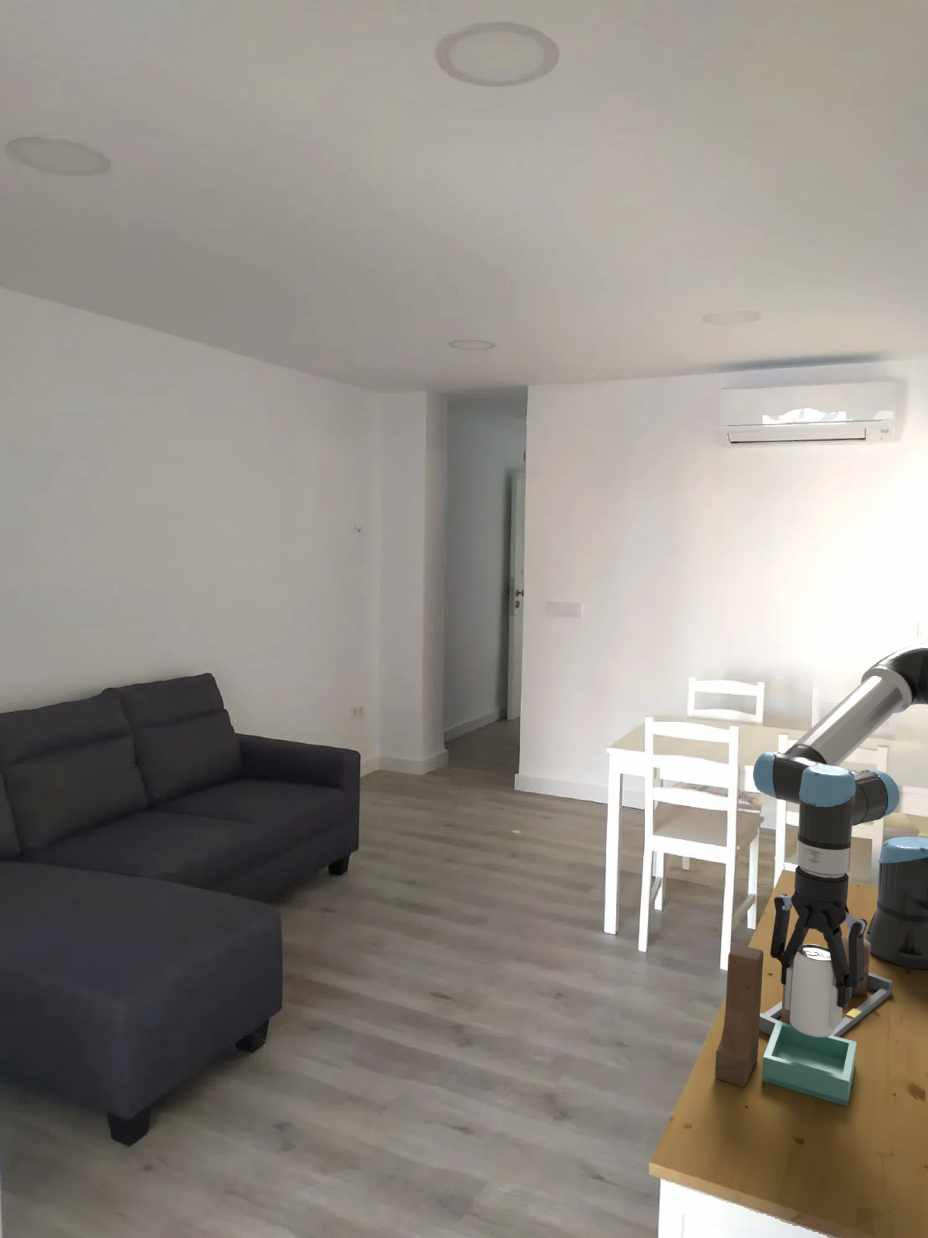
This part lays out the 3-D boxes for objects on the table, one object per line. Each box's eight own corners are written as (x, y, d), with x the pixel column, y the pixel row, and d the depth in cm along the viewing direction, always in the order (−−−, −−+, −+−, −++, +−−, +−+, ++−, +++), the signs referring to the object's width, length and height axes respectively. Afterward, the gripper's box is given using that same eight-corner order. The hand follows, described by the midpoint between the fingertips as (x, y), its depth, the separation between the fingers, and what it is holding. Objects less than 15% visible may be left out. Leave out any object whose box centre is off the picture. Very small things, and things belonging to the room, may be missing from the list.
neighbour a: (853, 981, 168) (857, 935, 167) (872, 994, 163) (877, 946, 162) (831, 984, 166) (835, 937, 165) (849, 997, 161) (854, 948, 161)
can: (838, 1042, 133) (844, 964, 132) (793, 1036, 134) (798, 958, 134) (829, 1020, 139) (835, 945, 139) (786, 1014, 141) (791, 940, 140)
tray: (775, 1043, 146) (776, 1020, 146) (855, 1065, 140) (856, 1042, 140) (761, 1081, 135) (763, 1057, 135) (847, 1106, 130) (849, 1081, 129)
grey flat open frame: (832, 971, 171) (833, 959, 171) (892, 993, 163) (893, 981, 163) (753, 1027, 150) (753, 1014, 150) (817, 1056, 142) (818, 1042, 142)
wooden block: (744, 1089, 133) (750, 973, 132) (714, 1079, 136) (720, 965, 134) (757, 1059, 141) (764, 950, 139) (729, 1051, 143) (735, 942, 142)
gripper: (751, 857, 139) (742, 999, 141) (876, 895, 125) (865, 1051, 127) (774, 847, 145) (766, 984, 146) (897, 882, 131) (886, 1033, 133)
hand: (812, 1015), depth 137 cm, fingers closed on can, 6 cm apart
